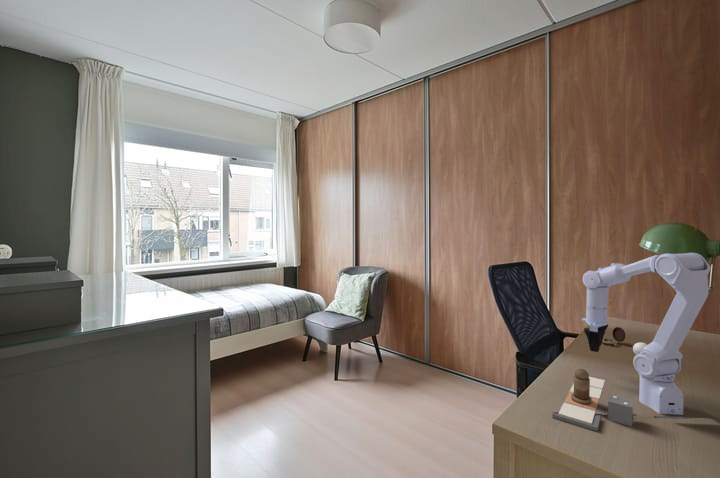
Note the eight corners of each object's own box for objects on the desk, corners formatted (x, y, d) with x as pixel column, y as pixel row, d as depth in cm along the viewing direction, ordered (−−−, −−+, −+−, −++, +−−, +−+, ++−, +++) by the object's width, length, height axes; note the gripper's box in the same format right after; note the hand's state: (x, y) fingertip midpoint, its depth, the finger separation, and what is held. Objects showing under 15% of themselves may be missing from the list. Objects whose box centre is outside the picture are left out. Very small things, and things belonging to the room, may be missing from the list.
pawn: (595, 405, 97) (595, 373, 97) (577, 404, 98) (577, 372, 97) (585, 396, 102) (586, 366, 102) (568, 396, 102) (568, 365, 102)
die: (631, 426, 89) (632, 407, 89) (607, 419, 92) (608, 400, 92) (632, 418, 93) (633, 399, 93) (609, 412, 96) (610, 393, 96)
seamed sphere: (652, 357, 135) (652, 342, 135) (649, 361, 131) (650, 346, 131) (627, 351, 141) (628, 338, 140) (624, 355, 137) (625, 341, 137)
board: (597, 431, 87) (597, 426, 87) (552, 417, 94) (552, 412, 93) (610, 384, 112) (610, 380, 112) (573, 376, 119) (573, 372, 119)
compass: (597, 341, 153) (597, 325, 153) (614, 341, 153) (615, 325, 153) (611, 348, 145) (611, 330, 145) (629, 347, 145) (630, 330, 145)
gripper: (585, 301, 124) (584, 339, 124) (578, 309, 112) (578, 351, 113) (610, 304, 119) (609, 344, 120) (605, 313, 108) (604, 356, 108)
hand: (595, 348), depth 116 cm, fingers open, 7 cm apart
